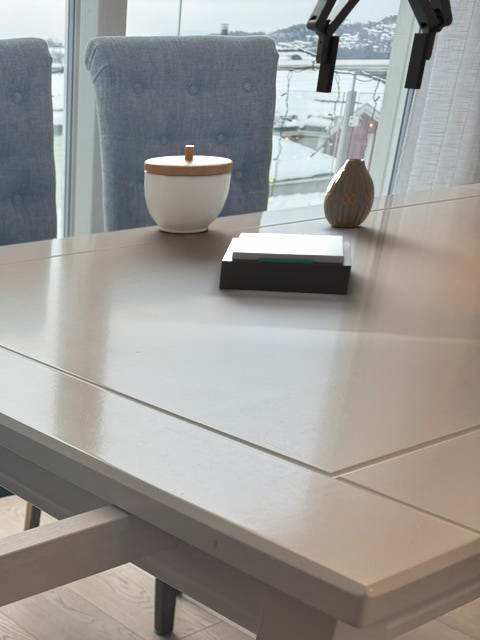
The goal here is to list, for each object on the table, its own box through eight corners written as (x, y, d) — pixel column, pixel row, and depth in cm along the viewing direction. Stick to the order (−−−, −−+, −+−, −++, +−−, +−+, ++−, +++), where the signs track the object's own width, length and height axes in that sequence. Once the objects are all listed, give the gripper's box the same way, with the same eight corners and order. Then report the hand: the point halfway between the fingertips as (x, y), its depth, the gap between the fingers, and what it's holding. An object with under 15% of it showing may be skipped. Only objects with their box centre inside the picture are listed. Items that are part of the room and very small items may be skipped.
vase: (311, 226, 139) (321, 160, 134) (335, 219, 143) (346, 155, 138) (353, 231, 134) (365, 163, 130) (377, 225, 138) (390, 159, 133)
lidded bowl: (241, 227, 139) (251, 143, 133) (197, 240, 131) (205, 152, 125) (170, 218, 146) (176, 139, 140) (123, 230, 138) (128, 147, 132)
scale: (345, 267, 115) (351, 234, 113) (346, 294, 103) (353, 258, 101) (230, 263, 118) (233, 231, 116) (218, 288, 107) (222, 253, 105)
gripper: (470, -103, 122) (432, 85, 134) (296, -103, 118) (272, 92, 129) (509, -109, 116) (465, 88, 128) (327, -109, 112) (299, 95, 123)
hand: (368, 90), depth 129 cm, fingers open, 13 cm apart
